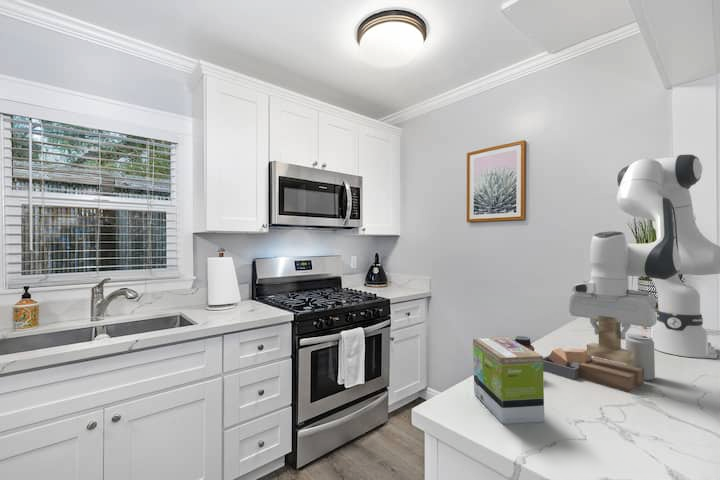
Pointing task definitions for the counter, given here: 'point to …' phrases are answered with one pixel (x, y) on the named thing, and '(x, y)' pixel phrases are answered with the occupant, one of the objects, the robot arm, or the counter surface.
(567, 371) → the tray
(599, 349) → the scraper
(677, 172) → the robot arm
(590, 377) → the board
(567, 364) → the peach square block
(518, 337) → the supplement bottle
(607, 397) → the counter surface
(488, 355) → the tea box
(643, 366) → the beverage can
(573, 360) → the tile
